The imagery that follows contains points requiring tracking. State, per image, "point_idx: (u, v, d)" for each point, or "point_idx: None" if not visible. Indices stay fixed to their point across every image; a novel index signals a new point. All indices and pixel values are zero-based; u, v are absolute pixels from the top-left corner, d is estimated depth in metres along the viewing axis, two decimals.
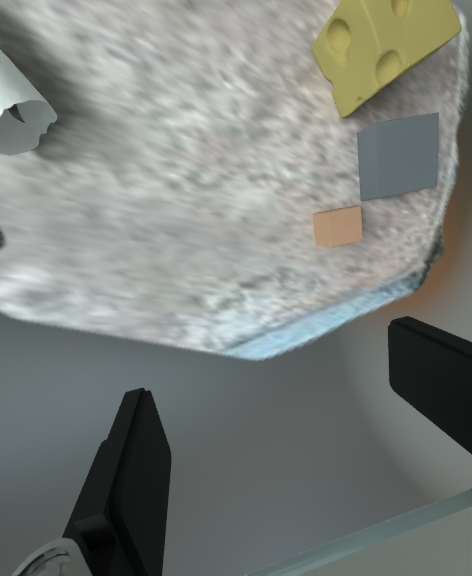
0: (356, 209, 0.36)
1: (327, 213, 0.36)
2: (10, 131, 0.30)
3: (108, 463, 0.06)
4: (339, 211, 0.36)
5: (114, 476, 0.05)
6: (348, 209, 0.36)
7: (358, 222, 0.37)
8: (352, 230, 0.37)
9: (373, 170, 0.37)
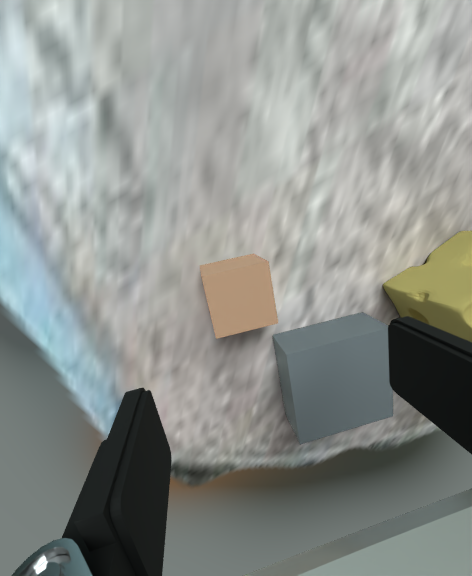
0: (272, 316, 0.19)
1: (264, 261, 0.19)
2: None
3: (108, 463, 0.06)
4: (269, 283, 0.19)
5: (114, 475, 0.05)
6: (272, 300, 0.19)
7: (248, 325, 0.19)
8: (235, 315, 0.19)
9: (325, 339, 0.23)
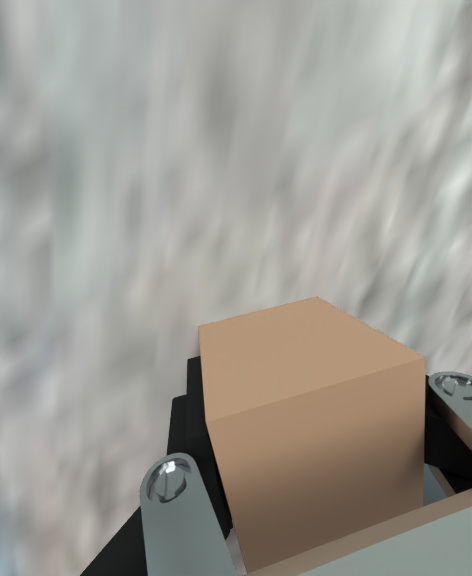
0: (410, 502, 0.07)
1: (404, 350, 0.06)
2: None
3: (196, 405, 0.07)
4: (417, 418, 0.06)
5: None
6: (418, 462, 0.06)
7: (345, 532, 0.07)
8: (309, 515, 0.06)
9: None
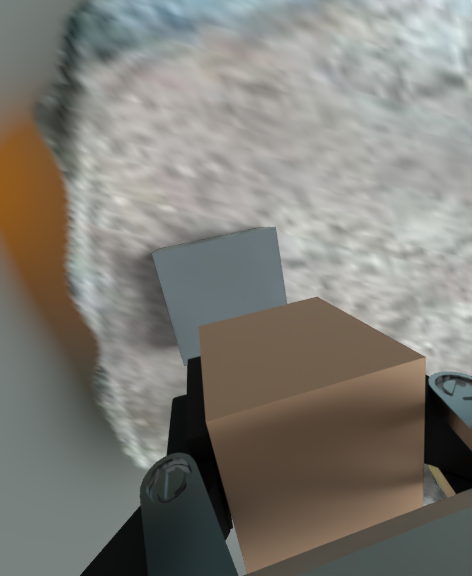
0: (410, 502, 0.07)
1: (404, 350, 0.06)
2: None
3: (196, 405, 0.07)
4: (417, 418, 0.06)
5: None
6: (418, 462, 0.06)
7: (344, 531, 0.07)
8: (309, 515, 0.06)
9: None
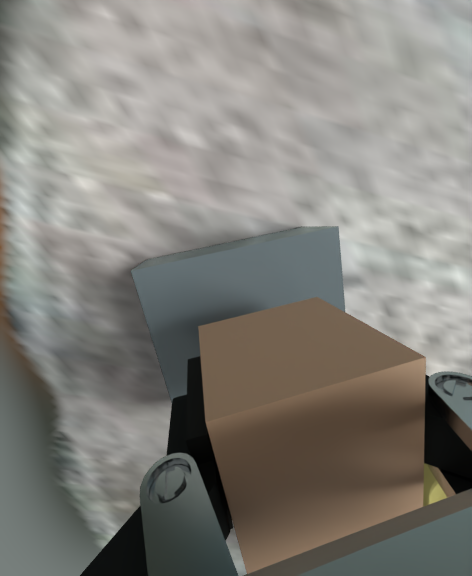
0: (410, 502, 0.07)
1: (404, 350, 0.06)
2: None
3: (196, 405, 0.07)
4: (417, 418, 0.06)
5: None
6: (418, 462, 0.06)
7: (344, 532, 0.07)
8: (309, 515, 0.06)
9: None
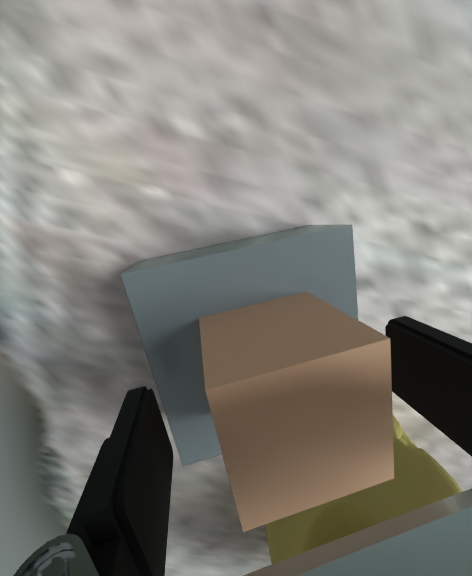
0: (382, 466, 0.08)
1: (374, 333, 0.07)
2: None
3: (111, 460, 0.06)
4: (385, 391, 0.07)
5: (118, 472, 0.05)
6: (387, 430, 0.07)
7: (325, 491, 0.08)
8: (293, 474, 0.07)
9: None
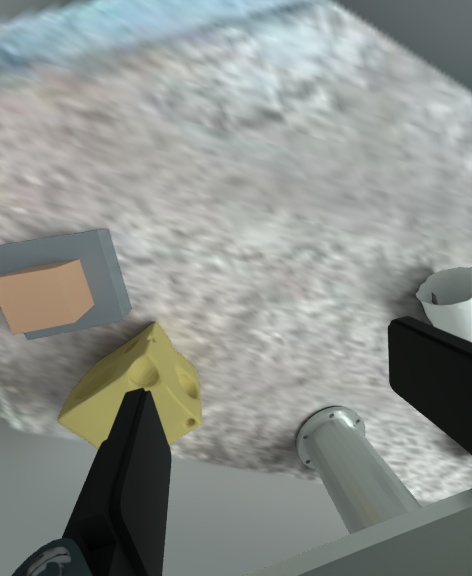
0: (67, 316, 0.22)
1: (55, 267, 0.21)
2: (444, 284, 0.39)
3: (108, 463, 0.06)
4: (59, 287, 0.21)
5: (114, 475, 0.05)
6: (65, 302, 0.22)
7: (44, 323, 0.22)
8: (29, 314, 0.21)
9: (110, 267, 0.27)
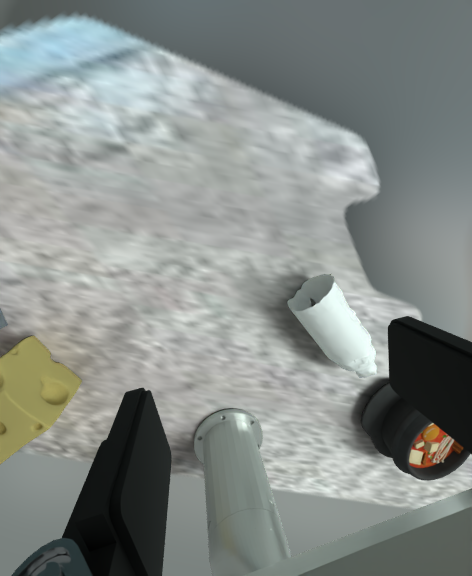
0: None
1: None
2: (319, 290, 0.42)
3: (108, 463, 0.06)
4: None
5: (114, 475, 0.05)
6: None
7: None
8: None
9: None
